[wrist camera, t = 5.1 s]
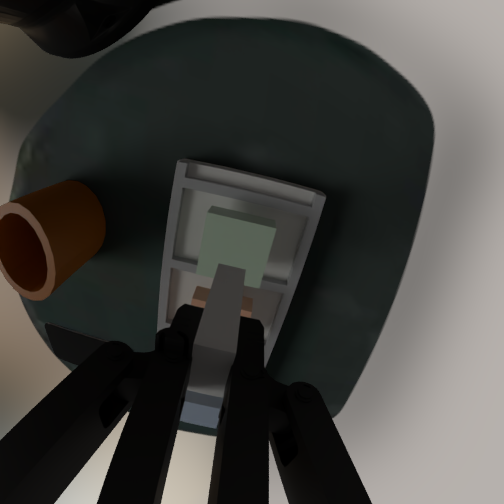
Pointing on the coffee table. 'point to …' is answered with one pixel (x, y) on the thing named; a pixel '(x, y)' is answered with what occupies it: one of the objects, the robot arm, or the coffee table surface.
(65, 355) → the smartphone
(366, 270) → the coffee table surface
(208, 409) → the key blue
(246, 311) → the key terracotta
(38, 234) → the mug
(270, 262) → the keypad
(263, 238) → the key sage
